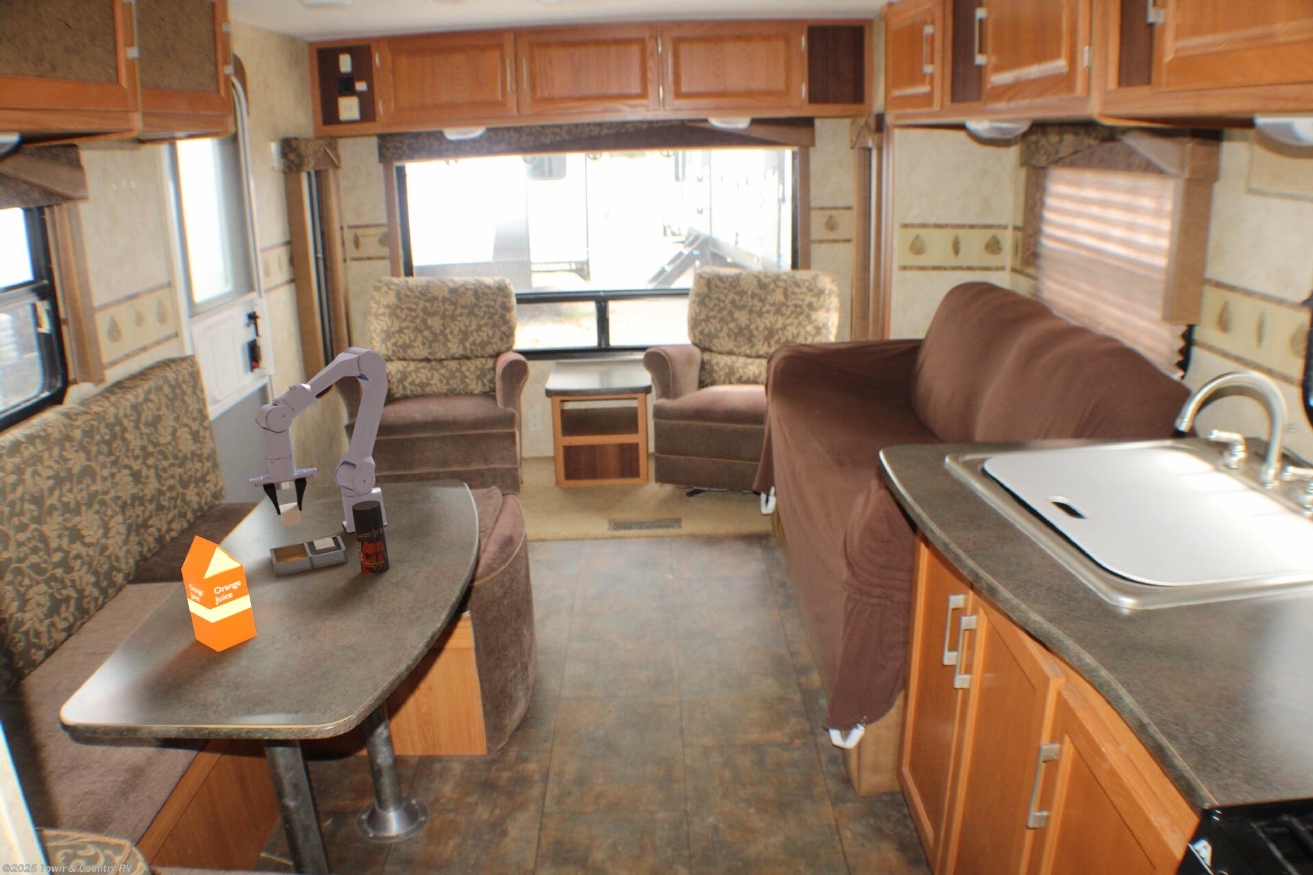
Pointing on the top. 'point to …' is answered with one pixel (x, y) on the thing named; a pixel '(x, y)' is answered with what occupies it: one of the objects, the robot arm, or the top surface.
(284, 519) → the off-white upright block
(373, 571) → the deodorant
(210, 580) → the orange juice
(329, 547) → the rack
